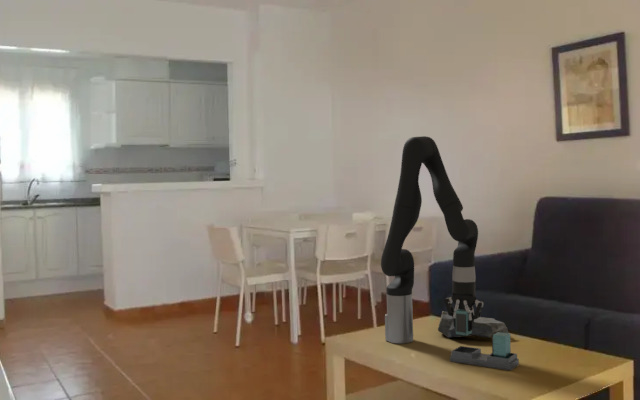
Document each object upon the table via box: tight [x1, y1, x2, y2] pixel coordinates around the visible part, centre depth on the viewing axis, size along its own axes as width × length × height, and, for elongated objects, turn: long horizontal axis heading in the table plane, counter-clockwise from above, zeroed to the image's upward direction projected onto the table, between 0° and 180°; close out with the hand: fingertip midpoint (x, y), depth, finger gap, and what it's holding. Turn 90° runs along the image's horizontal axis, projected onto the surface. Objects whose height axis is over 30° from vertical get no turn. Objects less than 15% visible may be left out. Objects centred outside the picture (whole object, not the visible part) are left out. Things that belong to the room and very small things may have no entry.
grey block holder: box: [449, 332, 520, 371], centre depth 214 cm, size 20×7×10 cm, turn 54°
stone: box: [437, 310, 509, 339], centre depth 251 cm, size 24×8×25 cm
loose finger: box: [456, 309, 472, 337], centre depth 226 cm, size 4×4×8 cm
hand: (463, 329), depth 227 cm, fingers closed on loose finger, 4 cm apart
